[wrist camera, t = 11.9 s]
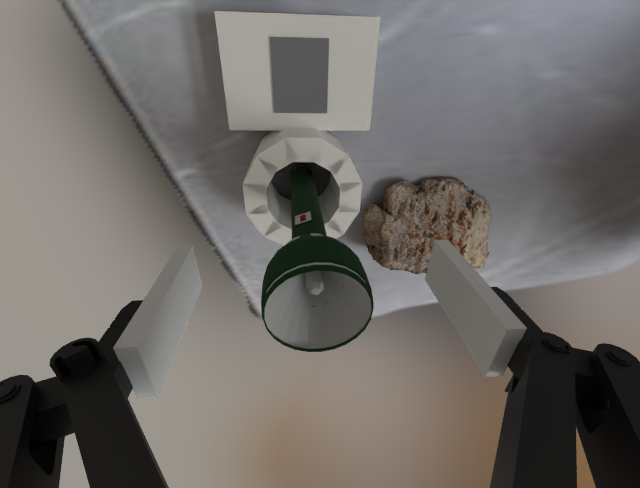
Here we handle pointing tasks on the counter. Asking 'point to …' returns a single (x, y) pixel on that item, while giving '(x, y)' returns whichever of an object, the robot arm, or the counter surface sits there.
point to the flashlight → (314, 280)
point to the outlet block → (298, 105)
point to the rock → (427, 224)
